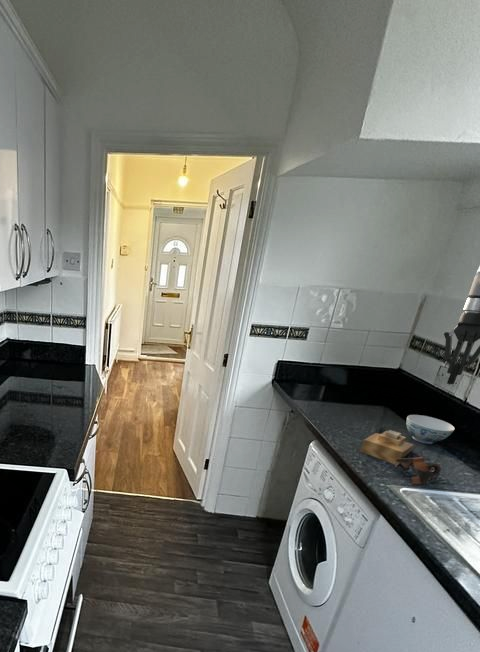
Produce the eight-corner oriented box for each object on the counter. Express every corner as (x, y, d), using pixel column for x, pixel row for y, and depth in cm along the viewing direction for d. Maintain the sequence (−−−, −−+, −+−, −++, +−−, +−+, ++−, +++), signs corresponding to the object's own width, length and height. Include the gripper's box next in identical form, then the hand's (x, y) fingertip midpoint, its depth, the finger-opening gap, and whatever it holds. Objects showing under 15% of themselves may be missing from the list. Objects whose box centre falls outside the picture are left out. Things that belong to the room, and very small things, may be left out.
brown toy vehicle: (402, 485, 129) (399, 458, 129) (390, 483, 138) (387, 458, 139) (448, 483, 126) (445, 456, 126) (433, 481, 135) (429, 456, 135)
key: (399, 437, 146) (401, 433, 146) (396, 440, 144) (397, 435, 143) (388, 434, 149) (389, 429, 148) (384, 436, 147) (386, 432, 146)
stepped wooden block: (408, 457, 147) (415, 439, 144) (397, 465, 140) (405, 447, 138) (371, 445, 155) (377, 428, 153) (359, 452, 149) (365, 434, 146)
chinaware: (398, 429, 171) (405, 411, 168) (442, 439, 165) (451, 421, 162) (401, 441, 160) (409, 423, 156) (449, 453, 153) (458, 434, 150)
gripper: (505, 315, 132) (476, 387, 140) (454, 311, 142) (430, 379, 149) (501, 314, 128) (472, 388, 135) (449, 310, 137) (424, 380, 145)
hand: (450, 383), depth 142 cm, fingers closed
